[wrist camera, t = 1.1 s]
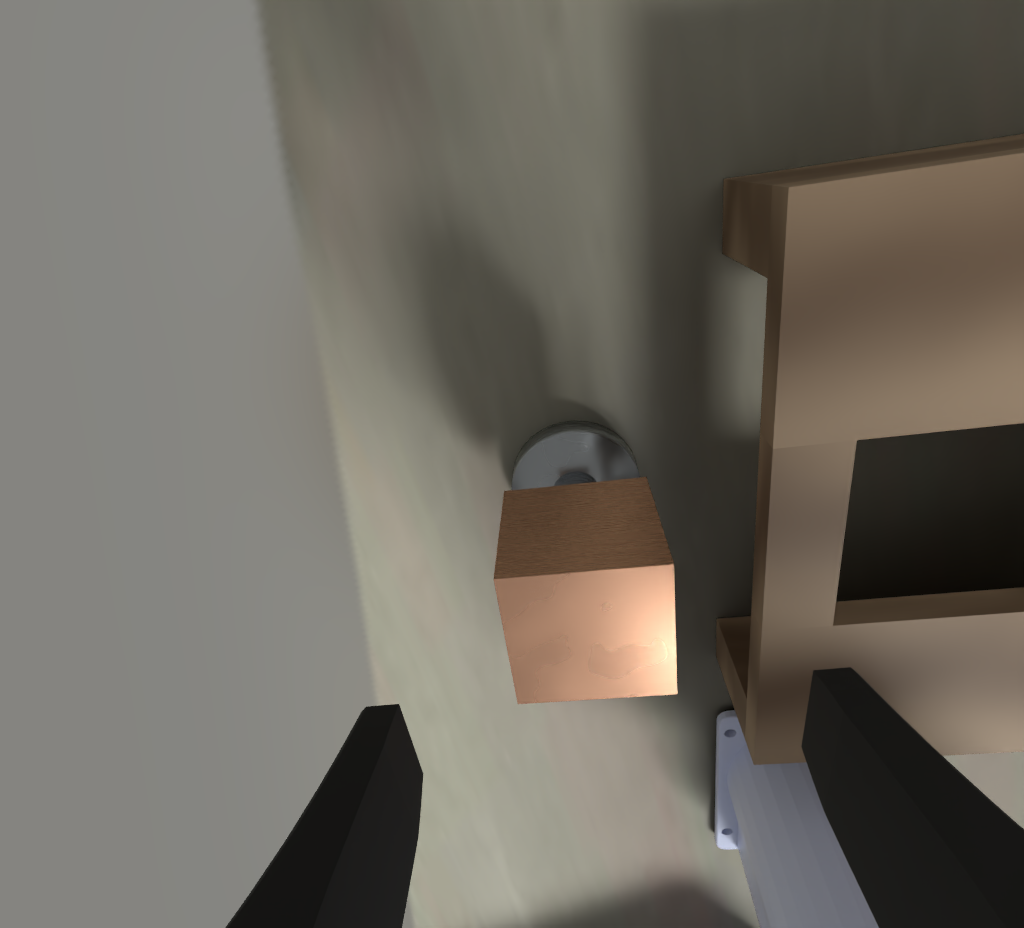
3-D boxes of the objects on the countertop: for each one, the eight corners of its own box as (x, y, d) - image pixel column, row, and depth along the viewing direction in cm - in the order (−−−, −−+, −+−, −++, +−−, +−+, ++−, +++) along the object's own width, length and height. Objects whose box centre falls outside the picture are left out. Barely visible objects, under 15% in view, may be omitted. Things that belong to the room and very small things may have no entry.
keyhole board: (1141, 626, 23) (1283, 738, 19) (716, 655, 25) (754, 764, 20) (1376, 80, 15) (1725, 49, 11) (723, 178, 17) (788, 187, 12)
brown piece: (639, 524, 22) (685, 699, 15) (521, 535, 23) (511, 709, 15) (634, 414, 20) (683, 556, 13) (504, 428, 21) (483, 573, 13)
